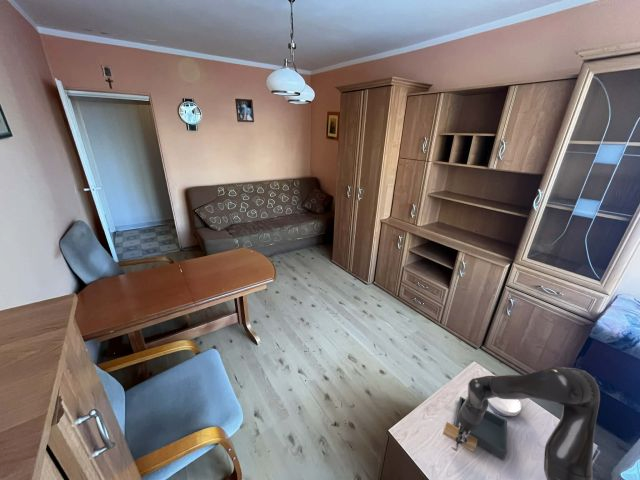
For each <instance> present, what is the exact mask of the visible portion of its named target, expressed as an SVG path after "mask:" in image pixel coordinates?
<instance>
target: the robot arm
mask: <svg viewBox="0 0 640 480" xmlns="http://www.w3.org/2000/svg"><path fill="white" fill-rule="evenodd" d="M494 397H498V398H501V399H512V400H520V401H521V400H527V399H533V400H534V399H535V400H541V401H546V402H549V403H553V404H558V405H560V406H561V405H562V413H561V417H560V419H559V422H558V423H557V424H556V426H555V427H554V429H553V430H552V432H551V434H550V435H549V437H548V438H547V441H546V443H545V447H544V455H543V456H544V457H543V472H544V476H545V478H546V480H593V458H594V457H593V456H594V441H595V429H596V423H597V418H598V412H599V408H600V402H601V392H600V388H599V385H598V383H597V381H596V379H595V378H594V377H593V375H591V374H590V373H588V372H587V371H586V370H583V369H581V368H575V367H562V366H551V367H546V368H544V369H540V370H537V371H534V372H531V373H526V374H507V375H505V374H504V375H485V376H479V377H474V378H472V379H470V380H469V382H468V383H467V396H466V398H465V399H466V400H465V402H464V403H463V405H462V407H461V409H460V411H459V413H458V420H459V422H460V423H459V429H458V435H457V438H456V440H455V441H454V442H456V444H457V443H458V445H461V443H463V444H465V443H466V442H467V436H468V434H469V433H470V432H471V431H474V430H476V429H477V428H478V427H479V425H480V423H481V421H482V419H483V417H484V414H485V412H486V410H487V411H488V408H489V403H488V400H487V399H490V398H494ZM461 435H462V436H461Z"/></svg>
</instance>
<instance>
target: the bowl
mask: <svg viewBox="0 0 640 480" xmlns="http://www.w3.org/2000/svg"><path fill="white" fill-rule="evenodd" d="M487 400H488V406H489V407H490V408H491V410H493V412H494V413H496V415H498V416H503V417H514V416H517V415H519V413H521V410H522V403H521V399H520V400H512V399H501V398H498V397H494V398H490V399H487Z"/></svg>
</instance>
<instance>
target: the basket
mask: <svg viewBox="0 0 640 480" xmlns="http://www.w3.org/2000/svg"><path fill="white" fill-rule="evenodd" d="M465 400H466V398H464V397H462V396H460V397H459V399H458V401H457V405H456V410H455V416H454V422H453V425H454V426H455V427H457V428H459V423H460V422H459V420H458V413H459V411H460V409H461V407H462V405H463V403H464V402H465ZM469 435H471V436H473V437H475V438H476V439H478V440H477V446H478V447H480V448H482V449H483V450H485V451H487V452H489V453H490V454H492V455H494V456H496V457H497V458H499V459H500V460H503V459H504V458H505V456H506V455H507V453H508V421H507V419H505V418H503V417H501V416H500V415H498V414H495V413H493V412H491V411H490V410H488V409H487V410H486V412H485V414H484V417H483V419H482V421H481V423H480V425H479V427H478V428H477V429H476V430H474V431H471V432H470V433H469Z"/></svg>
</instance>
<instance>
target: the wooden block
mask: <svg viewBox="0 0 640 480" xmlns="http://www.w3.org/2000/svg"><path fill="white" fill-rule="evenodd" d="M458 429H459V428H457V427H455V426H454V424H452V423H450V422H448V421H446V422H445V425H444V427H443V430H442V435H444V436H445V437H447V438H449V439H450V440H452V441H454V442H456V441H455V440H456V438H457V435H458ZM461 436H462V435H461ZM477 440H478V439H476V438H475V437H473V436H471V435H469V434H468V436H467V442H466V443H465V444H463V443H461V444H460V446H462V447H463V448H465V449H467V450H469V451H471V452H472V453H474V451H475V449H476V448H477V446H478V445H477ZM451 449H452V450H453V451H454V452H458V450H459V444H458V443H457V442H456V444H455V447H453V446H451Z"/></svg>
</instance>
